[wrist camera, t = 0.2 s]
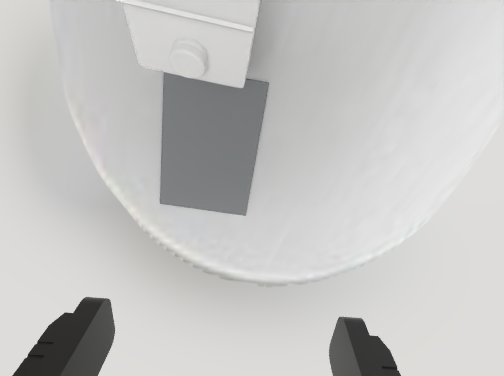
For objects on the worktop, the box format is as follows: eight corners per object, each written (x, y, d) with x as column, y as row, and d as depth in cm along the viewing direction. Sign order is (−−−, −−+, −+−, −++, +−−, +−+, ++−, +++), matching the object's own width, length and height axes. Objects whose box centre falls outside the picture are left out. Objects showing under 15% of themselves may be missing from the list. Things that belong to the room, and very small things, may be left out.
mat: (164, 65, 34) (164, 65, 33) (268, 82, 34) (268, 83, 34) (160, 202, 42) (160, 203, 41) (245, 214, 42) (245, 215, 42)
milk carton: (192, -17, 30) (113, -95, 13) (260, 0, 31) (268, -55, 14) (185, 58, 33) (113, 72, 16) (247, 71, 34) (240, 99, 17)
